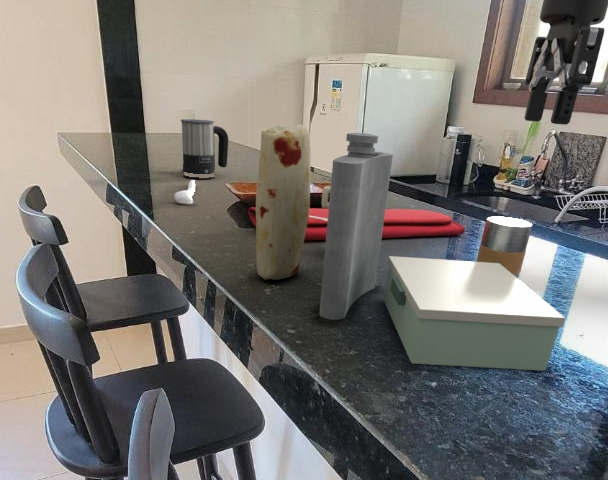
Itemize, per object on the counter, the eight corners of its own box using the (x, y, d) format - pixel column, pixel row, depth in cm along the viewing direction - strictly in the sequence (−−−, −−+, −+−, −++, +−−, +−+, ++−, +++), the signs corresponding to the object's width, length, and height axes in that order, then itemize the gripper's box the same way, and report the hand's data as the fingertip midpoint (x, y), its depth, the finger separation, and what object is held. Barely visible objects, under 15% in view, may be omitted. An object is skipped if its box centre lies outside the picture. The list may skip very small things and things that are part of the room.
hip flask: (340, 321, 62) (360, 137, 53) (308, 314, 63) (323, 133, 54) (377, 285, 75) (398, 132, 66) (350, 279, 77) (367, 129, 68)
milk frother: (199, 180, 145) (198, 121, 138) (158, 173, 152) (155, 116, 146) (232, 176, 156) (233, 121, 149) (193, 169, 163) (192, 116, 156)
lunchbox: (493, 307, 71) (504, 263, 68) (554, 372, 54) (571, 318, 51) (377, 300, 70) (383, 255, 67) (403, 364, 53) (413, 308, 51)
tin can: (505, 285, 80) (522, 218, 75) (520, 299, 74) (540, 228, 70) (465, 282, 79) (480, 215, 75) (478, 297, 74) (494, 225, 69)
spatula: (181, 183, 139) (181, 172, 138) (197, 184, 140) (197, 173, 138) (173, 204, 114) (172, 191, 113) (192, 205, 115) (192, 192, 114)
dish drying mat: (465, 237, 107) (469, 218, 105) (274, 244, 91) (275, 222, 89) (420, 219, 120) (423, 202, 118) (246, 223, 104) (247, 203, 102)
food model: (286, 289, 71) (296, 126, 62) (242, 280, 73) (245, 121, 64) (312, 270, 79) (324, 125, 70) (271, 263, 81) (278, 120, 72)
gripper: (646, -33, 58) (599, 128, 65) (583, -11, 71) (549, 122, 78) (580, -40, 58) (539, 123, 65) (528, -16, 70) (499, 118, 78)
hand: (544, 122), depth 71 cm, fingers open, 8 cm apart
